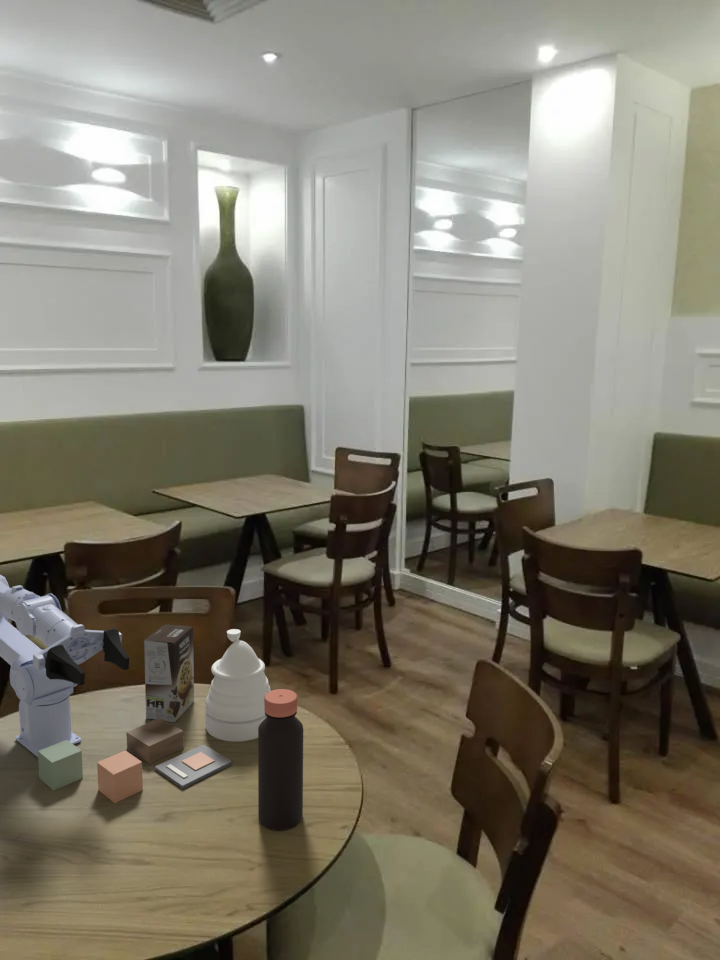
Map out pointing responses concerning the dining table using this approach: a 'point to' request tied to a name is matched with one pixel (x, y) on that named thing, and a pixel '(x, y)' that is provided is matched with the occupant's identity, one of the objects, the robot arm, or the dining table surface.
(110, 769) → the terracotta block
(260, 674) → the honey pot
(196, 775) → the card
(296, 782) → the bottle
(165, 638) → the coffee box
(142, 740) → the walnut base
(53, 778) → the sage block
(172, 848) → the dining table surface
